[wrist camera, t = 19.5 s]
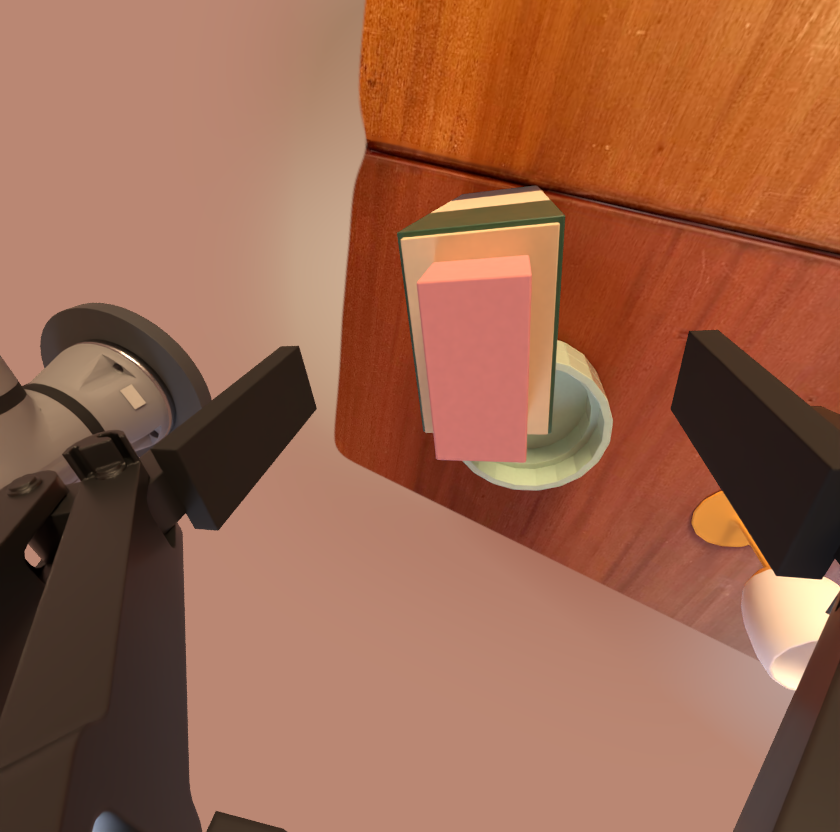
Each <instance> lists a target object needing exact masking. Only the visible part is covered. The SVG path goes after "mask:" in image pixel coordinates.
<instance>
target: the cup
mask: <svg viewBox="0 0 840 832" xmlns="http://www.w3.org/2000/svg"><path fill="white" fill-rule="evenodd" d="M691 523H692V526H693V528H694V530H695V533H696V534H697V535H698V536H700V537H701V538H702V539H704V540H705V541H706V542H709V543H713V544H716V545H719V546H730V547H741V546H746V545H750V546H751V547H752V549H753V550H754V552H755V554H756V555H757V557H758V559H759V560H760V562H761V563H762V565H763V567H764V568H762V569H760V570H758V571H757V572H756V573H755V574H754V575H753V576H752V577H751V578H750V579H749V580H748V581H747V582H746V583H745V586H744V589H743V591H742V601H741V610H742V615H743V621H744V626H745V628H746V631H747V633H748V636H749V638H750V641H751V643H752V646H753V648H754V651H755V653H756V655H757V658H758V659H759V661H760V662H761V664H762V665H763V667H764V668H765V670H766V671H767V672H768V674H769V675H770V677H771V678H772V679H773V680H775V681H776V682H777V683H779V684H780V685H782V686H783V687H785V688H787V689H790V690H793V691H796V689H797V687H798V684H799V682H800V680H801V678H802V675H803V673H804V671H805V669H806V666H807V664H808V662H809V660H810V657H811V655H812V653H813V651H814V648H815V646H816V644H817V642H818V639H819V637H820V635H821V633H822V630H823V628H824V626H825V624H826V621H827V619H828V617H829V614H827V613H825V612H826V610H827V609H828V607H829V606H830V604H831V603H832V601H833V600H834V598H835V597H836V595H837V594H838V592H839V591H840V586H838V585H837V584H836V583H835V582H833V581H831V580H829V579H828V578H826V577H823V579H822V580H818V579H805V578H793V577H781V576H776V575H775V573H774V572H773V570H772V569H771V567H770V566H769V564H768V562H767V561H766V559H765V558H764V556H763V554H762V553H761V551H760V550H759V548H758V547H757V545H756V543H755V542H754V540H753V539H752V537H751V535H750V534H749V532H748V531H747V529H746V528H745V526H744V524H743V523H742V521H741V520H740V518H739V516H738V515H737V513H736V512H735V510H734V509H733V507H732V505H731V504H730V502H729V501H728V499H727V497H726V496H725V494H724V493H723V491H720V492H717V493H716V494H714V495H712V496H710V497H709V498H707V499H705V500H703V501H702V502H701V504H700V505H699V506H698V507H697V508H696V509H695V510H694V512H693V517H692V521H691Z"/></svg>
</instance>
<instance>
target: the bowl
mask: <svg viewBox="0 0 840 832" xmlns="http://www.w3.org/2000/svg"><path fill="white" fill-rule="evenodd" d="M612 425H613V419H612V415H611V411H610V407H609V403H608V400H607V397H606V394H605V392H604V389H603V387H602V384H601V381H600V379H599V376H598V374H597V372H596V370H595V369H594V368H593V366H592V365H591V364H590V362H589V361H588V360H587V358H586V357H585V356H584V355H583V354H582V353H580V352H579V351H577V350H576V349H574V348H573V347H571V346H570V345H568V344H567V343H565V342H562V341H559V340H557V355H556V370H555V386H554V402H553V418H552V432H551V433H548V434H547V435H536V434H527V455H526V462H525V463H518V462H489V461H463V462H464V463H465V464H466V465H467V466H468V467H469V468H470V469H471V470H472V471H473V472H474V473H476V474H477V475H479V476H481V477H482V478H484V479H486V480H488V481H489V482H491V483H493V484H496V485H500V486H503V487H507V488H510V489H515V490H543V489H548V488H554V487H559V486H562V485H564V484H566V483H569V482H571V481H573V480H575V479H577V478H579V477H581V476H583V475H584V474H585V473H586V472H587V471H588V470H590V469H591V468H592V467H593V466H594V465H595V464H597V463H598V461H599V460H600V458H601V457H602V455H603V453H604V451H605V450H606V448H607V446H608V445H609V442H610V438H611V431H612Z"/></svg>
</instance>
